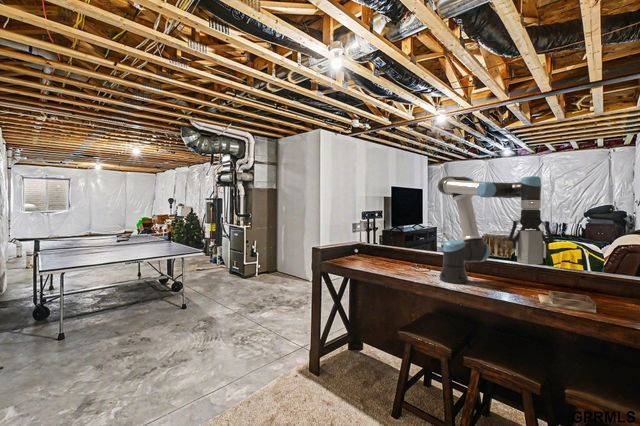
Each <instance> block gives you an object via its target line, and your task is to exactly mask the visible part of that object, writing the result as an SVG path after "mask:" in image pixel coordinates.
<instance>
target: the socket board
mask: <svg viewBox="0 0 640 426" xmlns="http://www.w3.org/2000/svg"><path fill="white" fill-rule="evenodd" d="M537 297H538V299H539V302H540V305H543V306H548V307H555V308H561V309H569V310H575V311H581V312H589V313H594V314H596V313H597V303H596V302H595V301H594V300H593V299H592V298H591V297H590V296H589V295H584V294H577V293H569V292H568V293H567V292H563V291H562V292H561V291H553V290H548V295H546V294H537Z"/></svg>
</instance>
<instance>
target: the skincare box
mask: <svg viewBox="0 0 640 426" xmlns="http://www.w3.org/2000/svg"><path fill="white" fill-rule="evenodd" d="M519 232H520V237H519V238H518V240H517V242H518V256H516V261H517V263H520V264H524V265H541V264H543V263H544V260H543V259H544V258H543V243H544V241H543V238H542V233H543V234H544V233H545V231H544V230H541V231H537V230H536V229H525V230H524V231H521V230H520V229H519V230H517V233H519ZM544 235H545V234H544Z"/></svg>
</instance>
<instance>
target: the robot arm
mask: <svg viewBox="0 0 640 426" xmlns="http://www.w3.org/2000/svg"><path fill="white" fill-rule="evenodd" d="M437 189H438V192H440V194H444V195H447V196H448V195H450V196H452V200H453V201H455V202H456V207H457V211H458V213H457V214H458V217H459V222H460V227H461V231H462V232H461V233H462V239H461V240H460V239H456V240H455V239H452V240H448V241H445V242H444V243H443V247H442V250H443V251H442V252H443V253H442V255H443V256H442V258H443V260H442V261H443V262H442V268H441V271H440V274H439V280H440V281H442V282H444V283H448V284H458V285H459V284H462V285H463V284H468V283H469V278H468V274H467V272H466V263H481V262H485V261H486V260H488V258H489V257H490V255H491V248H490V246H489V244H488V242H487V243H486V242H485V241H484V238H483V237H482V236H480V233H479V228H478V224H477V220H476V215H475V211H474V205H473V201H472V198H473V197H474V196H476V197H480V198H487V199H488V198H502V199H512V198H513V199H514V198H515V199H516V198H520V209H521V210H520V219H519V220H512V228H511V230H510V233H509V236H508V238H507V239H508V241H511V242H512V249H514V250H515V251H514V253H515V254H514V256H516V257H517V256H518V238H519V237H520V232H519V233H518V232H517V234H516V235H515V232H516V230H517V226H518V225H519V224H520V225H521V227H520V229H519V230H521V231H524V230H537V231H542V229H541V228H540V225H541V224H542V226H544V229H545V232H546V235H547V237H546V235H545V234H543V233H542V238H543V259H546V258H547V251H549V249H550V246H549V245H550V244H551V243H552V244H553V243H555V239H554V237H553V234H552V231H551V228H550V221H549V220H546V221H545V220H543V221H542V217H541V216H542V215H541V208H542V203H541V197H542V195H541V194H542V180H541V177H540V176H538V175H537V176H536V175H535V176H534V175H533V176H522V178H521V179H520V181H519V182H494V181H477V180H476V181H475V180H474V179H473V178H471V177H466V176H444V177H442V178H441V179H439V181H438V183H437ZM514 235H515V236H514ZM513 237H514V238H513ZM547 238H548V239H547Z"/></svg>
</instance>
